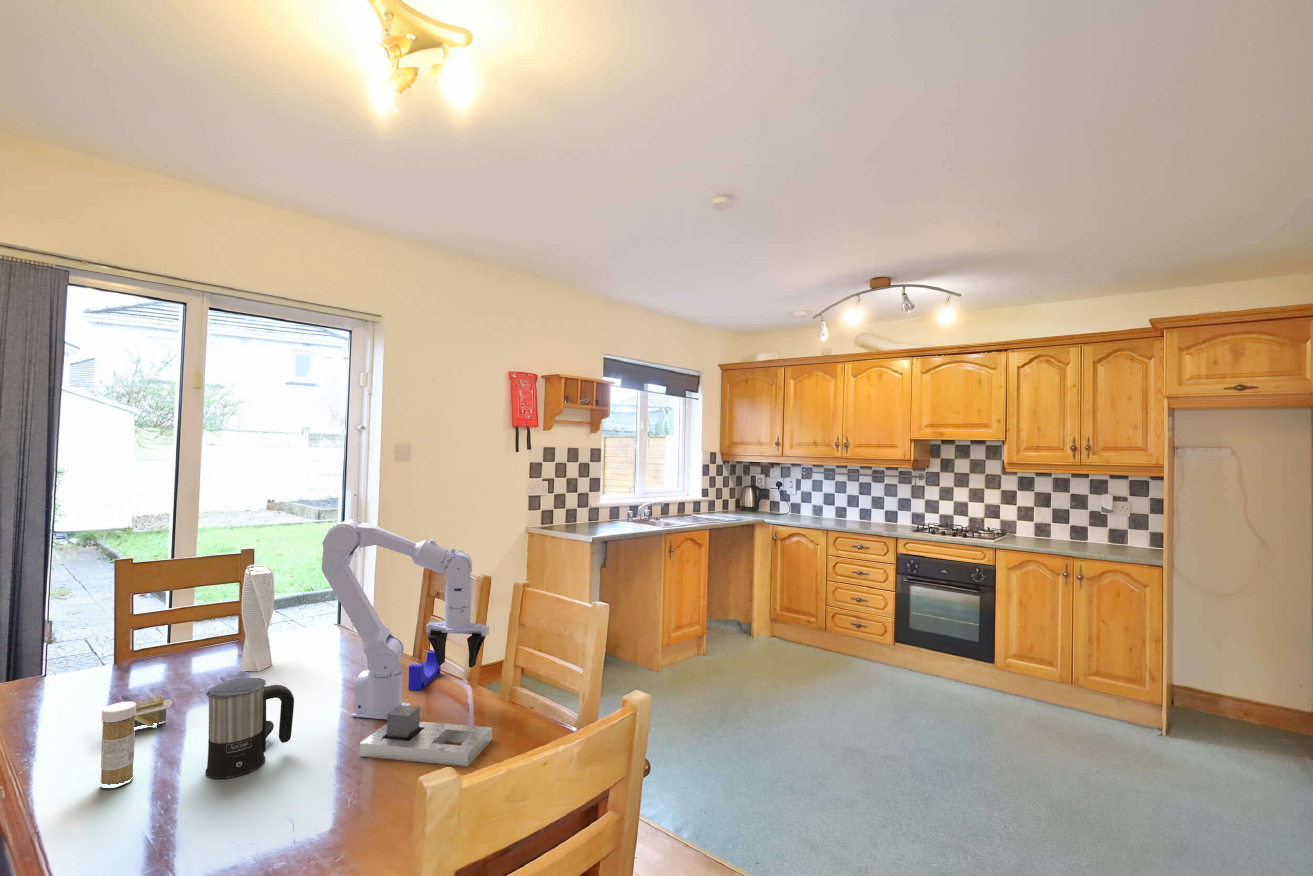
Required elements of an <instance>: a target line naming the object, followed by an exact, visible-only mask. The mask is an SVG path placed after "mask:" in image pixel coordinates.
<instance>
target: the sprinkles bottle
mask: <svg viewBox="0 0 1313 876" xmlns="http://www.w3.org/2000/svg"><path fill="white" fill-rule="evenodd" d="M135 714H136V702H134V701H122V702H121V701H120V702H117V703H113V704H110V705H108V706H105V707H104V708H103V709H102V711H101V721H102V736H101V739H102V740H101V751H100V752H101V753H100V769H101V772H100V773H101V774H100V783H102V784H108V785H110V784H119V783H124V782H125V781H128V780H130V779H131V778H132V777H133V776H134V761H135V741H136V740H135V736H136V735H135V734H136V731H134V727H135V725H134V721H135V716H136V715H135ZM133 778H134V777H133Z"/></svg>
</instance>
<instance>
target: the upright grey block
mask: <svg viewBox="0 0 1313 876" xmlns="http://www.w3.org/2000/svg"><path fill="white" fill-rule="evenodd" d="M420 708H421V707H420V706H413V705H410V706H403V705H399V706H398V707H397V708H395V709H394V710H392V711H391V712H390V713H388V714H387V719H386V723H387V739H393V740H404V741H410V740H411V739H412V738H413V737H415V736H416V735H417V734H418V733H419V724H420V718H421V715H420V714H421V713H420V712H421V709H420Z"/></svg>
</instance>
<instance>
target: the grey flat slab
mask: <svg viewBox="0 0 1313 876" xmlns="http://www.w3.org/2000/svg"><path fill="white" fill-rule="evenodd" d="M492 740H493V727H490V726H489V727H488V726H478V725H468V724H467V725H464V724H455V723H454V724H453V723H442V722H430V721H420V724H419V733H418V734H417V735H416V736H415V737H413V738H412V739H411V740H410V741H404V740H393V739H387V722H386V723H385V724H384V725H383V726H381V727H379V728H378V729H377V730H376V731H373V733H371V734H370V735H368V736H367V737H366V738H365V739H363V740H362V741H361V742H360V743H359V757H364V758H375V759H385V760H394V761H395V760H397V761H405V762H417V763H427V764H435V763H436V764H437V765H447V766H448V765H449V766H458V767H469V766H470V765H471V764H472V763H473V762H474V760H475V759H476V758H477V757H478V756H479V755H480V754H481V753H482V752H483V751H484V750H485V748H486V747H487V746H488V745H489V744H490V743H491V742H492ZM447 743H454V744H447ZM455 744H456V745H455ZM457 744H460V745H457Z"/></svg>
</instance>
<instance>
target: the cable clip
mask: <svg viewBox="0 0 1313 876" xmlns="http://www.w3.org/2000/svg"><path fill="white" fill-rule="evenodd" d="M441 666H442V665H438V664H437V659H436V655H435V652H434V650H429V651H427V655H426V661H423V662H422V663H421V664H420V663H418V664H417V663H415V664H414V663H412V664H411V663H410V665H409V666H408V685H407V686H408V691H422V690H423V689H424V688H425V687H426V686H427V685H429V684H430V683H431V682H432V681H433V680H434V679H435V678H437V677H439V675H440V674H441Z"/></svg>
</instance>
